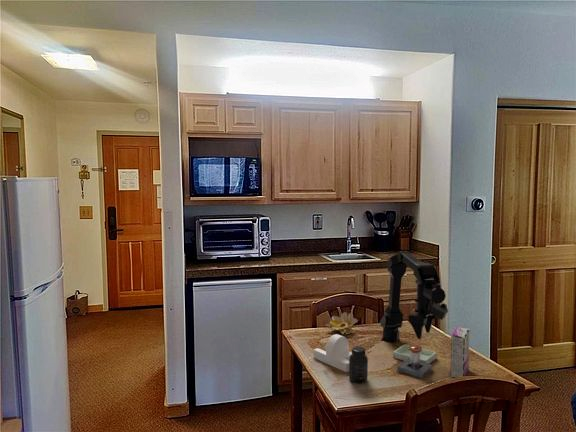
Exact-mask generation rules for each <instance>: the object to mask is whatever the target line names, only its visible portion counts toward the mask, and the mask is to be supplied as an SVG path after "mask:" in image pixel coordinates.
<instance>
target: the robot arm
mask: <svg viewBox="0 0 576 432" xmlns="http://www.w3.org/2000/svg"><path fill="white" fill-rule="evenodd" d="M386 267H387V271H388V273H389V275H390V279H389V280H390V283H389V292H388V293H389V294H388V306H387V307H385V309H384V312H383V316H382V317H381V319H380V321H379V324H380V326H381V327H382V337H381V339H380V340H381V341H385V342H389V343H392V344H394V343H396V342H397V341H399V340H400V339H401V338H400V330H399V329H402V326H403V323H404V322H403V320H404V313H403V312H402V311H401V309H400V304H401V303H400V302H401V301H400V300H401V290H402V289H401V288H402V279H403V277H404V275H406V273H407V268H409V269H411V270H412V271H413V273H412V274H413V276H414V277H415V279H416V280H415V281H414V283H416V298H415V299H414V302H415V303H416V308H415V309H414V312H412V313H410V314H409V315H408V316H407V322H409V324H410V325H411V328H412V329H413V331H414V334H415V336H416V338H417V340H421V339H422V336H423V330H424V329H425V332H426V333H428V334H429V333H430V331H431V328H432V325H433V321H434V320H435V319H436V318H438V319H439V320H443V319H446V316H447V314H448V312H449V308H448V304H446V303H445V302H444V300H446V296H447V295H446V291H445V290H444V289H443V288H442V286H441V281H440V280H441V279H440V276H439V274H438V271H437V268H436V267H435V266H434V265H433V264H431V263H428V262H424V261H422V260H420V259H419V258H417V257H416V256H415V255H413V254H412V253H411V251H409V250H408V251H407V250H404V251H398V252H397V253H396V254H394V255H392V256H391V257H389V258H388V259H387V262H386Z"/></svg>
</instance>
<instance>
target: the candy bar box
mask: <svg viewBox="0 0 576 432" xmlns="http://www.w3.org/2000/svg"><path fill="white" fill-rule="evenodd" d="M450 337H451V340H450V341H451V343H450V350H451V351H450V353H451V354H450V358H451V359H450V378H453V377H460V376H465V377H466V375H467V373H468V371H469V367H470V366H469V365H470V364H469V363H470V362H469V359H470V356H469V355H470V328H466V327H459V326H456V327H455V329H454V331H453V333H452V334H451V336H450ZM453 379H454V378H453Z"/></svg>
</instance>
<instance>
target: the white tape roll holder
mask: <svg viewBox="0 0 576 432" xmlns="http://www.w3.org/2000/svg"><path fill="white" fill-rule="evenodd" d="M349 346H350V343H349V340H348V338H347V337H346V336H343V335H340V334H337V333H336V334H333V335H331V336H330V337H329V338H328V340H327V342H326V345H325V350H323V349H321V348H318V347H317V348H314V349H313V359H316V360H318V361H320V362H322V363H324V364H327V365H328V366H331V367H334V368H336V369H338V370H340V371H342V372H345V373H347V372H348V373H349V357H350V355H351V354H352V351H349V350H350V349H349V348H350V347H349Z"/></svg>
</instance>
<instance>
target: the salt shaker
mask: <svg viewBox="0 0 576 432" xmlns="http://www.w3.org/2000/svg"><path fill="white" fill-rule="evenodd" d="M422 349H423V347H422V346H421V345H419V344H410V346H409V350H410V351H411V353H410V367H411V368H414V369H418V370H419V369H420V352H421V351H422Z"/></svg>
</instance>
